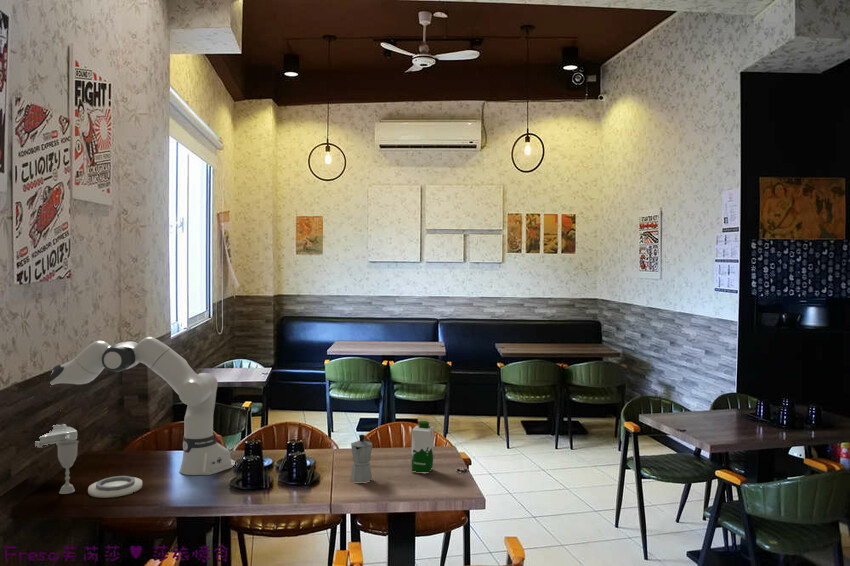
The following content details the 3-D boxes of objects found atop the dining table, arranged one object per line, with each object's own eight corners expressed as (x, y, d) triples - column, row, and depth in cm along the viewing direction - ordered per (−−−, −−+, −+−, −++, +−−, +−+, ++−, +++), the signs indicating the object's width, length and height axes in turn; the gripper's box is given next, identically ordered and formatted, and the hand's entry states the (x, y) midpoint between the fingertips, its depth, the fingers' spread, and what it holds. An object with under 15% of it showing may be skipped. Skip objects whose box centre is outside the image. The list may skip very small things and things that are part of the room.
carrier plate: (129, 477, 241) (129, 470, 241) (151, 488, 229) (151, 481, 229) (80, 489, 227) (80, 482, 227) (100, 501, 215) (100, 493, 215)
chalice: (74, 486, 229) (74, 438, 229) (81, 491, 225) (82, 442, 225) (52, 491, 224) (53, 442, 224) (59, 496, 219) (60, 446, 219)
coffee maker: (367, 486, 235) (367, 439, 235) (345, 484, 237) (346, 438, 237) (377, 474, 250) (378, 430, 250) (357, 472, 252) (357, 428, 251)
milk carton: (434, 468, 258) (435, 421, 258) (429, 475, 249) (430, 426, 249) (414, 467, 260) (415, 420, 260) (409, 473, 251) (409, 425, 251)
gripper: (10, 431, 233) (23, 439, 224) (69, 423, 249) (83, 429, 240) (10, 448, 233) (22, 456, 224) (68, 438, 249) (82, 445, 240)
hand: (54, 442), depth 232 cm, fingers open, 8 cm apart
